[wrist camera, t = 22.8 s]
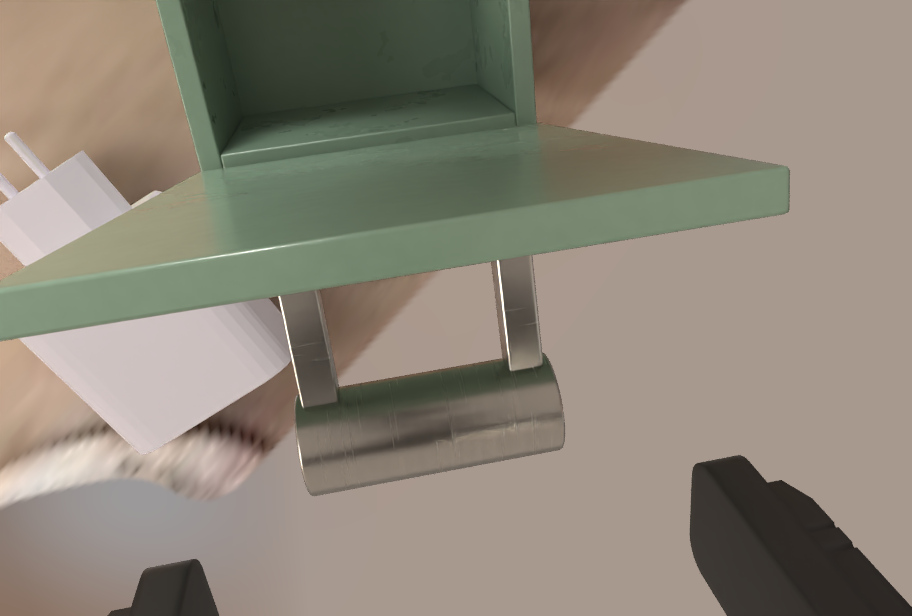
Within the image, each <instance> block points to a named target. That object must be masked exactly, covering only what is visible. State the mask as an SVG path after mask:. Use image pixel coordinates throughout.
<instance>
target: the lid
mask: <svg viewBox="0 0 912 616" xmlns="http://www.w3.org/2000/svg"><path fill="white" fill-rule="evenodd" d="M789 192H790V170H789V168H788V167H787V166H783V165H777V164H772V163H766V162H760V161H754V160H748V159H743V158H737V157H731V156H726V155H720V154H714V153H708V152H703V151H697V150H691V149H685V148H680V147H673V146H668V145H662V144H657V143H651V142H645V141H639V140H633V139H628V138H622V137H617V136H610V135H605V134H599V133H594V132H588V131H582V130H576V129H571V128H565V127H559V126H553V125H548V124H542V123H533V124H526V125H520V126H513V127H506V128H499V129H492V130H485V131H478V132H471V133H464V134H457V135H451V136H444V137H437V138H430V139H423V140H416V141H409V142H402V143H395V144H388V145H381V146H375V147H368V148H361V149H354V150H347V151H340V152H333V153H326V154H319V155H312V156H306V157H299V158H292V159H285V160H278V161H271V162H264V163H257V164H250V165H243V166H236V167H230V168H223V169H216V170H209V171H202V172H199V173H197V174H195V175H193V176H192V177H190V178H188V179H186V180H184V181H182V182H181V183H179V184H177V185H175V186H173V187H171V188H169V189H168V190H166V191H164V192H162V193H160V194H158V195H157V196H155V197H153V198H151V199H149V200H147V201H146V202H144V203H142V204H140V205H138V206H136V207H135V208H133V209H131V210H129V211H127V212H125V213H124V214H122V215H120V216H118V217H116V218H114V219H112V220H111V221H109V222H107V223H105V224H103V225H101V226H100V227H98V228H96V229H94V230H92V231H90V232H89V233H87V234H85V235H83V236H81V237H79V238H78V239H76V240H74V241H72V242H70V243H68V244H66V245H65V246H63V247H61V248H59V249H57V250H55V251H54V252H52V253H50V254H48V255H46V256H44V257H43V258H41V259H39V260H37V261H35V262H33V263H32V264H30V265H28V266H26V267H24V268H22V269H21V270H19V271H17V272H15V273H13V274H11V275H9V276H8V277H6V278H4V279H2V280H0V341H6V340H12V339H18V338H24V337H30V336H36V335H43V334H49V333H55V332H61V331H67V330H73V329H80V328H86V327H92V326H98V325H104V324H110V323H117V322H123V321H129V320H135V319H141V318H147V317H154V316H160V315H166V314H172V313H178V312H184V311H191V310H197V309H203V308H209V307H215V306H221V305H228V304H234V303H240V302H246V301H252V300H258V299H265V298H271V297H277V296H278V298H279V303H280V308H281V312H282V317H283V322H284V326H285V331H286V336H287V340H288V345H289V350H290V354H291V359H292V364H293V368H294V373H295V378H296V382H297V387H298V392H299V395H297V396H296V399H295V404H294V421H295V433H296V441H297V448H298V455H299V460H300V465H301V470H302V474H303V478H304V482H305V485H306V487H307V490H308V492H309V493H310V495H312V496H318V495H323V494H328V493H334V492H339V491H345V490H350V489H355V488H360V487H366V486H371V485H376V484H381V483H387V482H392V481H397V480H403V479H408V478H414V477H419V476H424V475H429V474H434V473H440V472H445V471H450V470H456V469H461V468H466V467H472V466H477V465H482V464H488V463H493V462H498V461H504V460H509V459H514V458H520V457H525V456H530V455H535V454H541V453H546V452H551V451H557V450H560V449H561V448H562V447H563V445H564V440H565V422H564V413H563V406H562V401H561V395H560V391H559V387H558V383H557V380H556V376H555V373H554V370H553V368H552V365H551V363H550V361H549V359H548V358H547V356H546V355H545V354H544V353H542V347H541V337H540V328H539V318H538V308H537V298H536V288H535V278H534V268H533V258H532V255H535V254H542V253H548V252H554V251H560V250H567V249H573V248H579V247H585V246H591V245H597V244H604V243H610V242H616V241H622V240H628V239H634V238H641V237H647V236H653V235H659V234H665V233H671V232H678V231H683V230H690V229H696V228H702V227H708V226H714V225H721V224H727V223H733V222H739V221H745V220H751V219H758V218H764V217H770V216H776V215H782V214H785V213H787V212H789V198H790V196H789V194H790V193H789ZM486 262H491V265H492V274H493V282H494V290H495V298H496V306H497V316H498V324H499V332H500V341H501V349H502V359H496V360H491V361H485V362H479V363H474V364H468V365H462V366H456V367H451V368H445V369H439V370H433V371H428V372H422V373H416V374H411V375H405V376H399V377H394V378H388V379H383V380H377V381H371V382H365V383H360V384H353V385H348V386H343V387H339V385H338V379H337V374H336V369H335V364H334V359H333V354H332V349H331V344H330V339H329V333H328V328H327V323H326V318H325V313H324V308H323V303H322V298H321V292H320V289H326V288H332V287H339V286H345V285H351V284H357V283H363V282H369V281H376V280H382V279H388V278H394V277H400V276H406V275H413V274H419V273H425V272H431V271H437V270H443V269H449V268H455V267H462V266H468V265H474V264H480V263H486Z"/></svg>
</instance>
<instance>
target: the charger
mask: <svg viewBox="0 0 912 616" xmlns="http://www.w3.org/2000/svg"><path fill="white" fill-rule="evenodd" d="M4 139H5V141H6V142H7V143H8V144H9V145H10V146H11V147H12V148H13V149H14V150H15V151H16V153H17V154H18V155H19V156H20V157H21V158H22V159H23V160H24V161H25V162H26V164H27V165H28V166H29V167H30V168H31V169H32V170H33V171H34V172H35V173H36V174H37V176H38V177H39V178H40V179H39V180H37V181H36V182H34V183H33V184H31V185H30V186H28V187H27V188H25V189H24V190H22V191H21V192H18V191H17V190H16V189H15V188H14V186H13V185H12V184H11V183H10V182H9V181H8V180H7V179H6V178H5V177H4V176H3V175H2V174H1V173H0V190H1V192H2V193H3V194H4V195H5V196H6V197H7V198H8V199H9V200H8V201H6V202H5V203H3V204H2V205H0V241H1V242H2V243H3V244H4V246H5V247H6V248H7V249H8V250H9V251H10V252H11V253H12V254H13V255H14V256H15V257H16V258H17V259H18V260H19V261H20V262H21V263H22V264H23V265H24V266H25V267H26V266H28V265H30V264H32V263H33V262H35V261H37V260H39V259H41V258H43V257H44V256H46V255H48V254H50V253H52V252H54V251H55V250H57V249H59V248H61V247H63V246H65V245H66V244H68V243H70V242H72V241H74V240H76V239H78V238H79V237H81V236H83V235H85V234H87V233H89V232H90V231H92V230H94V229H96V228H98V227H100V226H101V225H103V224H105V223H107V222H109V221H111V220H112V219H114V218H116V217H118V216H120V215H122V214H124V213H125V212H127V211H129V210H131V209H133V208H135V207H136V206H138V205H140V204H142V203H144V202H146V201H147V200H149V199H151V198H153V197H155V196H157V195H158V194H160V193H162V192H161V191H153V192H151V193H149V194H148V195H146V196H145V197H143V198H142V199H140V200H139V201H137V202H136V203H134V204H133V205H130V204H129V203H128V202H127V201H126V200H125V199H124V197H123V196H122V195H121V194H120V193H119V192H118V190H117V189H116V188H115V187H114V186H113V185H112V183H111V182H110V181H109V180H108V179H107V178H106V177H105V175H104V174H103V173H102V172H101V171H100V170H99V168H98V167H97V166H96V165H95V164H94V163H93V161H92V160H91V159H90V158H89V157H88V156H87V155H86V153H85V152H84V151H83V150H82V151H80V152H79V153H77V154H76V155H74V156H73V157H71V158H70V159H68V160H67V161H65V162H64V163H62V164H61V165H59V166H58V167H56V168H55V169H53V170H52V171H49V170H48V169H47V167H46V166H45V165H44V164H43V163H42V162H41V161H40V160H39V159H38V157H37V156H36V155H35V154H34V153H33V152H32V151H31V150H30V149H29V147H28V146H27V145H26V144H25V143H24V142H23V141H22V140H21V139H20V137H19V136H18V135H17V134H16V133H15V132H9V133H8V134H6V135H5V137H4ZM19 339H20V340H21V341H22V342H23V343H24V344H25V345H26V346H27V347H28V348H29V349H30V350H31V351H32V352H33V353H34V354H35V355H36V356H38V357H39V358H40V359H41V360H42V361H43V362H44V363H45V364H46V365H47V366H48V367H49V368H50V369H51V370H52V371H53V372H54V373H55V374H56V375H57V376H58V377H60V378H61V379H62V380H63V381H64V382H65V383H66V384H67V385H68V386H69V387H70V388H71V389H72V390H73V391H74V392H75V393H76V394H77V395H78V396H79V397H81V398H82V399H83V400H84V401H85V402H86V403H87V404H88V405H89V406H90V407H91V408H92V409H93V410H94V411H95V412H96V413H97V414H98V415H99V416H100V417H101V418H103V419H104V420H105V421H106V422H107V423H108V424H109V425H110V426H111V427H112V428H113V429H114V430H115V431H116V432H117V433H118V434H119V435H120V436H121V437H122V438H124V439H125V440H126V441H127V442H128V443H129V444H130V445H131V446H132V447H133V448H134V449H135V450H136V451H137V452H138V453H139V454H141V455H144V454H147V453H150V452H152V451H154V450H156V449H158V448H160V447H161V446H163V445H165V444H166V443H168V442H170V441H171V440H173V439H175V438H176V437H178V436H179V435H181V434H183V433H184V432H186V431H187V430H189V429H191V428H192V427H194V426H196V425H197V424H199V423H200V422H202V421H204V420H205V419H207V418H208V417H210V416H212V415H213V414H215V413H217V412H218V411H220V410H221V409H223V408H225V407H226V406H228V405H229V404H231V403H233V402H234V401H236V400H238V399H239V398H241V397H242V396H244V395H246V394H247V393H249V392H250V391H252V390H254V389H255V388H257V387H258V386H260V385H262V384H263V383H265V382H266V381H268V380H269V379H271V378H272V377H273V376H275V375H276V374H277V373H279V372H280V371H281V370H282V369H283V368H284V367H286V366H287V365H288V363H289V362H290V361H291V354H290V350H289V345H288V340H287V336H286V331H285V326H284V322H283V317H282V314H281V312H280V311H279V310H278V309H277V308H276V306H275V305H274V304H273V303H272V301H271V300H270V299H269V298H265V299H258V300H252V301H246V302H240V303H234V304H228V305H221V306H215V307H209V308H203V309H197V310H191V311H184V312H178V313H172V314H166V315H160V316H154V317H147V318H141V319H135V320H129V321H123V322H117V323H110V324H104V325H98V326H92V327H86V328H80V329H73V330H67V331H61V332H55V333H49V334H43V335H36V336H30V337H24V338H19Z"/></svg>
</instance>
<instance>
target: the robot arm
mask: <svg viewBox="0 0 912 616" xmlns="http://www.w3.org/2000/svg"><path fill="white" fill-rule="evenodd" d="M690 541H691V547H692V552H693V555H694V558H695V561H696V563H697V566H698V568H699V570H700V572H701V574H702V576H703V577H704V579H705V581H706V582H707V584H708V586H709V587H710V589H711V590H712V592H713V594H714V595H715V597H716V598H717V600H718V602H719V603H720V605H721V607H722V608H723V610H724V611H725V613H726V615H727V616H912V607H911V606H910V605H909V604H908V603H907V601H906V600H905V599H904V598H903V597H902V596H901V595H900V594H899V593H898V592H897V591H896V589H894V587H893V586H892V585H891V584H890V583H889V582H888V581H887V580H886V579H885V578H884V576H883V575H882V574H881V573H880V572H879V571H878V570H877V569H876V568H875V567H874V565H873V564H872V563H871V562H870V561H869V560H868V559H867V558H866V557H865V556H864V555H863V553H862V552H861V551H860V550H859V549H858V548H854V547H853V544H852V541H851V540H850V539H849V538H848V537H847V536H846V535H845V534H844V533H843V532H842V530H841V529H840V528H839V527H837V528H836V527H835V525H834V522H833V521H832V520H831V518H830V517H829V516H828V515H827V514H826V513H825V512H824V511H823V510H822V509H821V508H820V507H819V505H818V504H817V503H816V502H815V501H814V500H813V499H812V498H811V497H809V496H807V495H805V494H804V493H802V492H800V491H799V490H797V489H795V488H794V487H792V486H790V485H788V484H787V483H785V482H783V481H782V480H779V481H774V482H769V483H767V482H766V481H765V479H764V478H763V477H762V476H761V475H760V474H759V472H758V471H757V470H756V469H755V468H754V466H753V465H752V464H751V463H750V462H749V461H748V460H747V459H746V458H745V457H743V456H741V455H738V456H732V457H727V458H722V459H717V460H712V461H706V462H701V463H697V464H695V466H694V467H693V471H692V488H691V515H690ZM108 616H219V614H218V611H217V608H216V605H215V602H214V599H213V596H212V593H211V591H210V588H209V585H208V582H207V579H206V576H205V574H204V571H203V568H202V565H201V564H200V562H199V561H198V560H197V559H192V560H187V561H181V562H177V563H171V564H166V565H161V566H156V567H150V568H147V569H145V570H144V571H143V573H142V575H141V578H140V581H139V584H138V587H137V590H136V594H135V597H134V600H133V603H132V606H131V607H130V608H124V609H119V610H114V611H111V612H110V614H109V615H108Z"/></svg>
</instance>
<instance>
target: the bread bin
mask: <svg viewBox="0 0 912 616" xmlns="http://www.w3.org/2000/svg"><path fill="white" fill-rule="evenodd" d="M156 4H157V8H158V12H159V15H160V19H161V23H162V27H163V30H164V34H165V38H166V42H167V45H168V49H169V53H170V57H171V60H172V64H173V68H174V72H175V75H176V79H177V83H178V87H179V90H180V94H181V98H182V102H183V105H184V109H185V113H186V117H187V120H188V124H189V128H190V132H191V135H192V139H193V143H194V147H195V150H196V154H197V158H198V162H199V165H200V169H201V172H202V171H209V170H216V169H223V168H230V167H236V166H243V165H250V164H257V163H264V162H271V161H278V160H285V159H292V158H299V157H306V156H312V155H319V154H326V153H333V152H340V151H347V150H354V149H361V148H368V147H375V146H381V145H388V144H395V143H402V142H409V141H416V140H423V139H430V138H437V137H444V136H451V135H457V134H464V133H471V132H478V131H485V130H492V129H499V128H506V127H513V126H520V125H526V124H533V123H537V120H536V104H535V87H534V71H533V54H532V38H531V21H530V5H529V0H156Z"/></svg>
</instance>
